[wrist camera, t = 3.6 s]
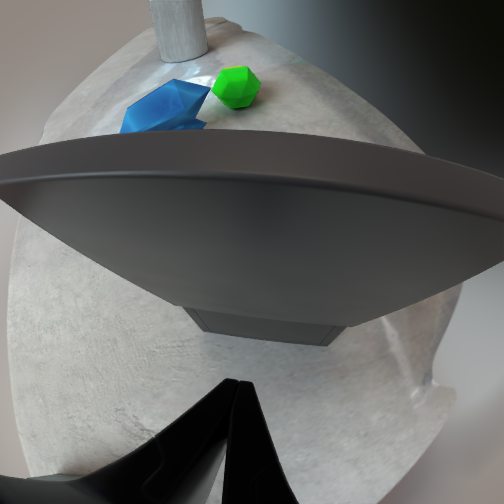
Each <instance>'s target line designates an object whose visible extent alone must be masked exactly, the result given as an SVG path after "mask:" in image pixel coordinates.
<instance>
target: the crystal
mask: <svg viewBox="0 0 504 504" xmlns="http://www.w3.org/2000/svg"><path fill="white" fill-rule="evenodd" d="M210 89H211V88H210V87H206V86H202V85H198V84H194V83H190V82H185V81H181V80H177V79H172V80H171V81H169V82H167V83H166V84H164V85H162V86H161V87H159V88H157V89H156V90H154V91H152V92H151V93H149V94H148V95H146V96H145V97H143V98H142V99H140V100H139V101H137V102H136V103H134V104H133V105H131V106H130V107H128V108H127V111H126V114H125V117H124V120H123V123H122V127H121V130H120V133H119V134H121V133H132V132H145V131H161V130H190V129H202V128H203V127H204V126H205V125H206V122H203V121H201V120H198V119H195V118H196V116H197V114H198V112H199V110H200V108H201V106H202V104H203V102H204V100H205V98H206V96H207V94H208V93H209V91H210Z"/></svg>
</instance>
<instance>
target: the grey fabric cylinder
mask: <svg viewBox="0 0 504 504" xmlns="http://www.w3.org/2000/svg"><path fill="white" fill-rule="evenodd" d="M148 2H149V6H150V11H151V15H152V20H153V24H154V29H155V33H156V37H157V42H158V46H159V50H160V54H161V57H162V60H163V61H164V62H167V63H176V62H183V61H188V60H191V59H195V58H197V57H200V56H202V55H204V54H205V53H206V52H207V51H208V44H207V37H206V30H205V23H204V16H203V9H202V3H201V0H148Z"/></svg>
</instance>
